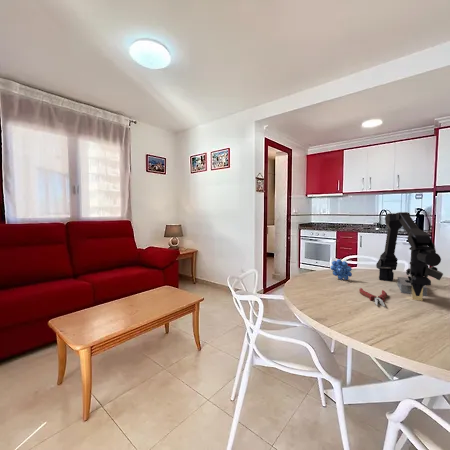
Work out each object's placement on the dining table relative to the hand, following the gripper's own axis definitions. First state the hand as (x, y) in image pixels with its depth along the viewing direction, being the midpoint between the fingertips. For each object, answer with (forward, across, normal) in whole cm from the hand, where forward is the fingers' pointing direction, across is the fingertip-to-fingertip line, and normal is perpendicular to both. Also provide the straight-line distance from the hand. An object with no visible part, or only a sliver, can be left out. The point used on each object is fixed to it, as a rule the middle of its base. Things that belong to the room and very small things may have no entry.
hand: (416, 294), depth 111 cm
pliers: (+3, -9, +18) cm, 20 cm away
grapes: (+2, +16, +33) cm, 37 cm away
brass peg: (+2, 0, 0) cm, 2 cm away
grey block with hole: (+2, +15, 0) cm, 15 cm away
